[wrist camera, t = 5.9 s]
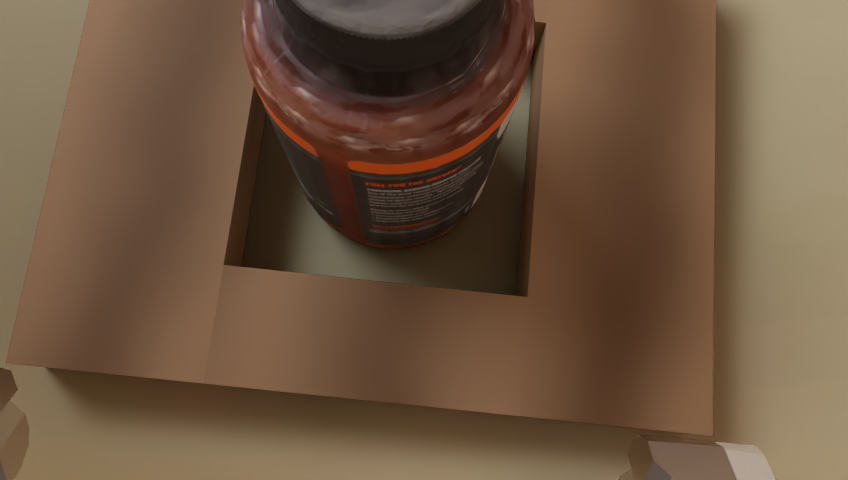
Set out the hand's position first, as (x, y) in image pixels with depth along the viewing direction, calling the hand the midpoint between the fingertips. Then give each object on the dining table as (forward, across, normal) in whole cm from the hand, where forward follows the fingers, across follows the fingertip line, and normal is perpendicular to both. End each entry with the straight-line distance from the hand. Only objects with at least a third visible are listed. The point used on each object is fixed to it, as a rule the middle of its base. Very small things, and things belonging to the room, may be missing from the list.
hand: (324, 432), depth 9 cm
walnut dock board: (+14, 0, +2) cm, 14 cm away
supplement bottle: (+14, 0, +3) cm, 14 cm away
